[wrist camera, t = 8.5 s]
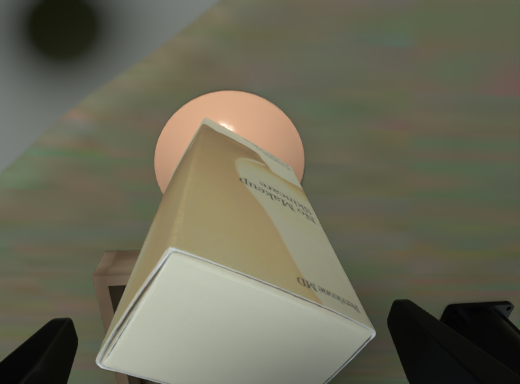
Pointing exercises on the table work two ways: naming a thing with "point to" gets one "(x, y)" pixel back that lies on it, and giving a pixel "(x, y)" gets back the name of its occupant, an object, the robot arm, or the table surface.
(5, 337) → the table surface
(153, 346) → the skincare box
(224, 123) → the peach flat disc
